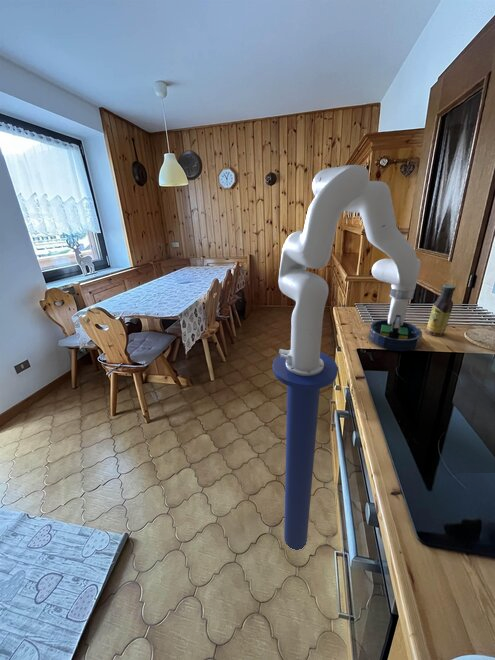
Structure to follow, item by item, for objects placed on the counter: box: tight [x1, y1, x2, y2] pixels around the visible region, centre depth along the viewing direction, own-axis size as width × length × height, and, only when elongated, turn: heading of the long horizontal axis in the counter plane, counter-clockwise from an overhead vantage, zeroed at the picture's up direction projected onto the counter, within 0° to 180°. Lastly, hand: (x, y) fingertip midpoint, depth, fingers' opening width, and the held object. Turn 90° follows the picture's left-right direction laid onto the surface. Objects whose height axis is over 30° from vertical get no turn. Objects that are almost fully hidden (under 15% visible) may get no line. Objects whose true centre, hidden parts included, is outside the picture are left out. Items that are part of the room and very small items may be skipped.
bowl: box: [368, 319, 423, 352], centre depth 108 cm, size 18×18×5 cm
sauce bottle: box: [426, 283, 457, 337], centre depth 108 cm, size 7×6×20 cm
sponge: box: [380, 325, 408, 339], centre depth 108 cm, size 9×6×4 cm, turn 65°
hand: (392, 336), depth 108 cm, fingers closed on sponge, 6 cm apart
